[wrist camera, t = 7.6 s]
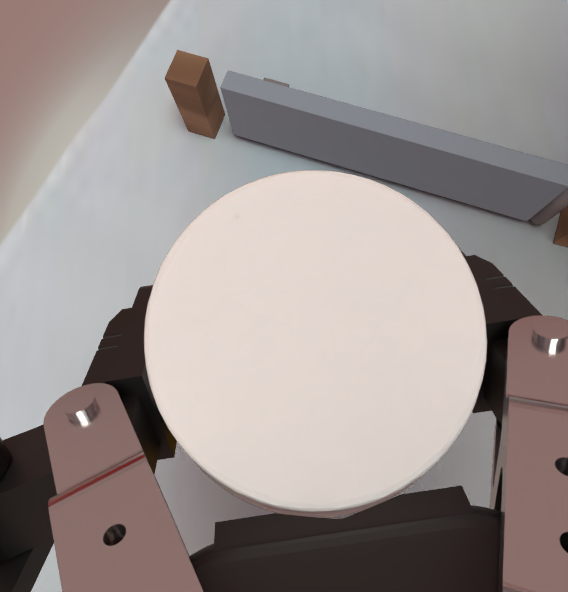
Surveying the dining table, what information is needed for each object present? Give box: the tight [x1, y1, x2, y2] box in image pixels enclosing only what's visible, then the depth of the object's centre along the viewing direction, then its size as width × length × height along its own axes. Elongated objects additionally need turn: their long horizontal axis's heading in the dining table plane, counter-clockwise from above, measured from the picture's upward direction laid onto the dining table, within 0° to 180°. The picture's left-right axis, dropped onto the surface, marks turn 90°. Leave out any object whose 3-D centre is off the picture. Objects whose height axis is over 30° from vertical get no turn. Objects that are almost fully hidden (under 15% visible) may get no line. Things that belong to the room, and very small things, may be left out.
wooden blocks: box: [165, 50, 568, 247], centre depth 26 cm, size 2×30×12 cm, turn 71°
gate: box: [220, 71, 568, 225], centre depth 29 cm, size 2×21×5 cm, turn 70°
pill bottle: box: [144, 170, 487, 518], centre depth 12 cm, size 6×6×11 cm
